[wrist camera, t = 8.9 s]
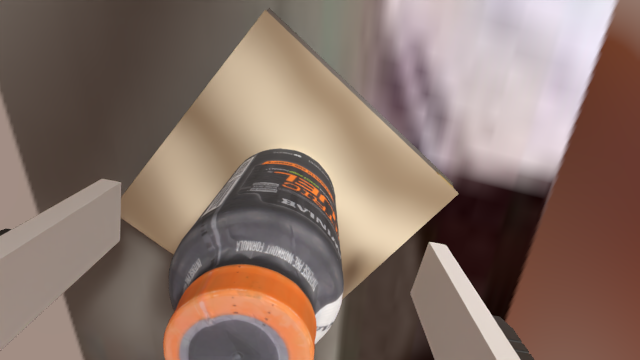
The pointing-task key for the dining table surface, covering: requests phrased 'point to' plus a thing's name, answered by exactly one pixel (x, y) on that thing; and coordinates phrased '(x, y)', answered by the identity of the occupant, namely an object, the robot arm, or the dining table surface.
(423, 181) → the plate
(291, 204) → the pill bottle
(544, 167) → the dining table surface
